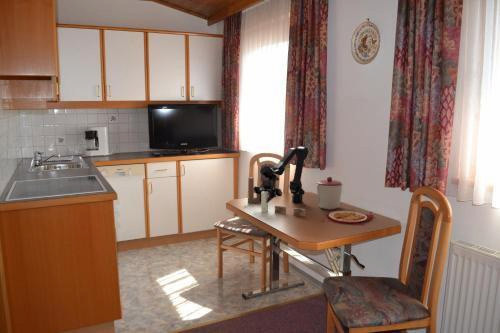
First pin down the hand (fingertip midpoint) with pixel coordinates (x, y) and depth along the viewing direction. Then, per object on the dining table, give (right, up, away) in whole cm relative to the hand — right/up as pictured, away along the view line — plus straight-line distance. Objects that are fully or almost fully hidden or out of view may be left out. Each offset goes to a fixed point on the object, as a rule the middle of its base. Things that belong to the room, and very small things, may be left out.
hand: (263, 202), depth 261 cm
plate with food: (+50, -10, -16) cm, 53 cm away
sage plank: (+1, -6, +2) cm, 7 cm away
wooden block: (-5, -3, +27) cm, 28 cm away
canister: (+44, -5, +11) cm, 46 cm away
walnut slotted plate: (+16, -7, -6) cm, 19 cm away
